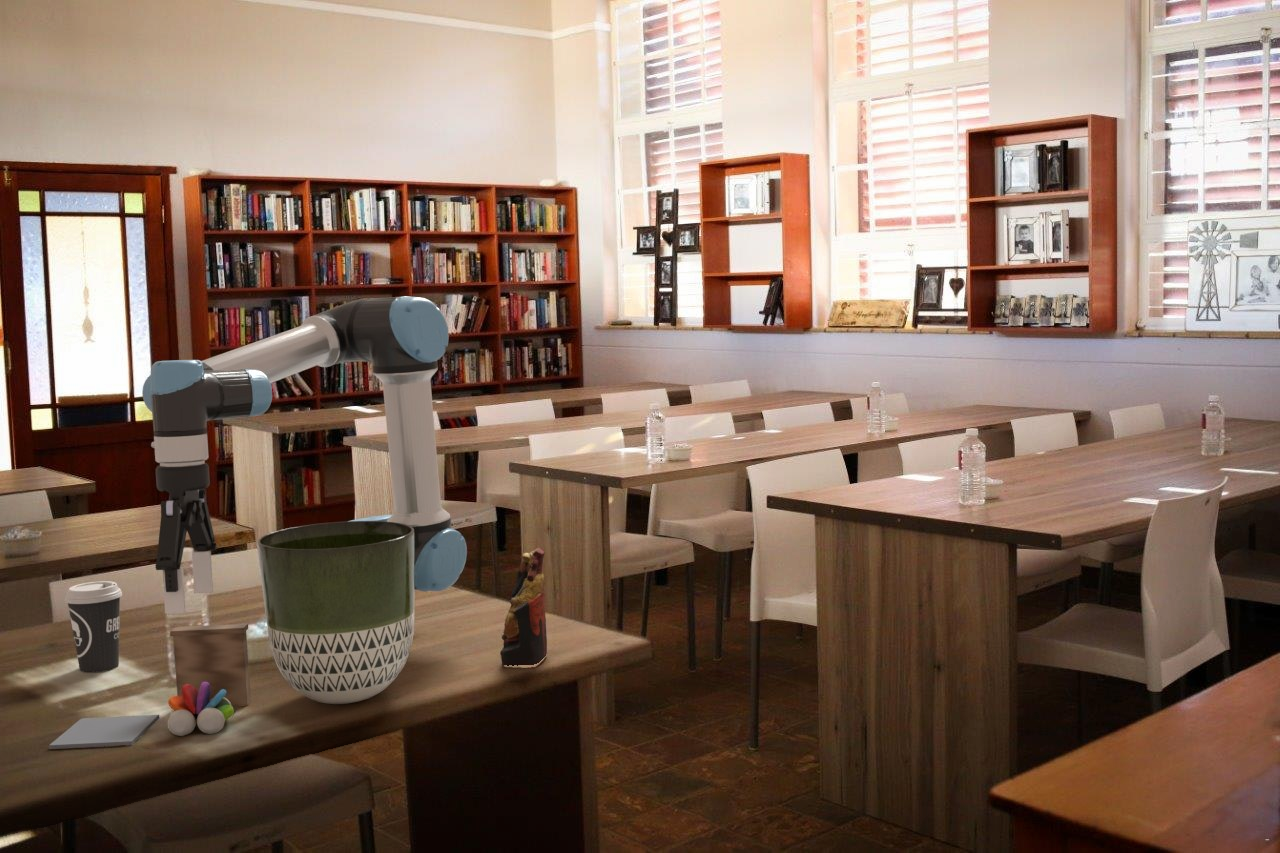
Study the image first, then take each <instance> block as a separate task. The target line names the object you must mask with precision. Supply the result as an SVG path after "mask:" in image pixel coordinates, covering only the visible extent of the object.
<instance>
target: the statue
mask: <svg viewBox="0 0 1280 853" xmlns="http://www.w3.org/2000/svg"><path fill="white" fill-rule="evenodd" d="M544 557H545V551H544V550H543V549H542V548H540V547H539V548H538V547H537V548H535V550H532V551H530V552H523V554H522V556H521V558H522V559H521V561H520V566H519V569H518V571H517V572H518V573H517V578H516V582H515V586H514V589H512V590H511V593H510V600H509V602H510V607H509V609H508V612H507V614H506V617H505V620H504V626H503V627H504V629H503V632H502V633H503V634H502V635H501V639H502V641H503V645H502V646H503V647H502V648H501V650H500V652H499V653H500V659H501V666H503V665H507V666H509V665H512V666H514V665H517V666H518V665H534V664H537V663H539V662H540V661H541V660H542V659H543V658H544V657H545V656H546V654H547V655H548V639H547V638H548V637H547V622H546V621H547V620H546V594H545V593H546V591H545V584H546V580H545V575H544V574H543V565H544V564H543V561H544Z"/></svg>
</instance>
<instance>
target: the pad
mask: <svg viewBox="0 0 1280 853" xmlns="http://www.w3.org/2000/svg"><path fill="white" fill-rule="evenodd" d="M159 720H160V714H147V715H143V714H142V715H124V716H123V715H121V716H104V717H100V716H99V717H85V718H84V717H82V718H80V719H79V720H77V722H75V723H74V724H73V725H72V726H71V727H70V728H68V729H67V730H65V731H64V732H63V733H62V734H61V735H60V736H58V737H57V738H56V739H55V740H54V741H52V742H51V743H50V744H49V745H48V748H49V750H59V749H80V748H81V749H82V748H99V747H101V748H103V747H104V746H105V747H117V746H116V745H126V746H133V745H134V744H135V743H136V742H137V741H138V740H139V739H140V738H141V737H142V736H143V735H144V734H145V733H146V732H147V731H148V730H149V729H150V728H151V727H152V726H153V725H155V723H156V722H157V721H159ZM134 742H135V743H134ZM132 744H133V745H132ZM114 745H115V746H114Z"/></svg>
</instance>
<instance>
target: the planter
mask: <svg viewBox="0 0 1280 853" xmlns="http://www.w3.org/2000/svg"><path fill="white" fill-rule="evenodd" d="M256 545H257V554H258V555H257V556H258V565H259V570H260V571H259V572H260V577H261V578H260V579H261V586H262V594H263V595H262V596H263V603H264V605H263V606H264V611H265V612H264V613H265V618H266V627H267V634H268V640H269V645H270V649H271V653H272V656H273V659H274V661H275V664H276V666H277V669H278V670H279V673H280V674H281V675H282V677H283V678H284V680H286V682H287V684H289V685H290V686H291V687H292V688H293V689H295V690H296V691H297V692H299V693H300V694H301V695H302V696H305V697H306V698H309V699H310V700H313V701H316V702H319V703H324V704H330V705H344V704H353V703H357V702H361V701H364V700H368V699H370V698H372V697H374V696H377V695H378V694H380V693H381V692H383V691H384V690H385V689H386V688H387V687H389V686H390V685H391V684H392V682H394V681H395V679H396V678H397V677H398V676H399V674H401V672H402V670H403V668H404V667H405V665H406V663H407V661H408V659H409V656H410V652H411V649H412V645H413V639H414V638H413V637H414V632H415V631H414V630H415V629H414V628H415V592H416V591H415V585H414V560H415V539H414V528H413V527H411V526H409V525H406V524H402V523H396V522H385V521H351V520H348V521H347V520H346V521H334V522H325V523H324V522H322V523H313V524H307V525H306V524H305V525H300V526H294V527H289V528H285V529H280V530H276V531H272V532H270V533H267V534H265V535H262V536H261V537H259V538H258V539H257V542H256Z"/></svg>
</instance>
